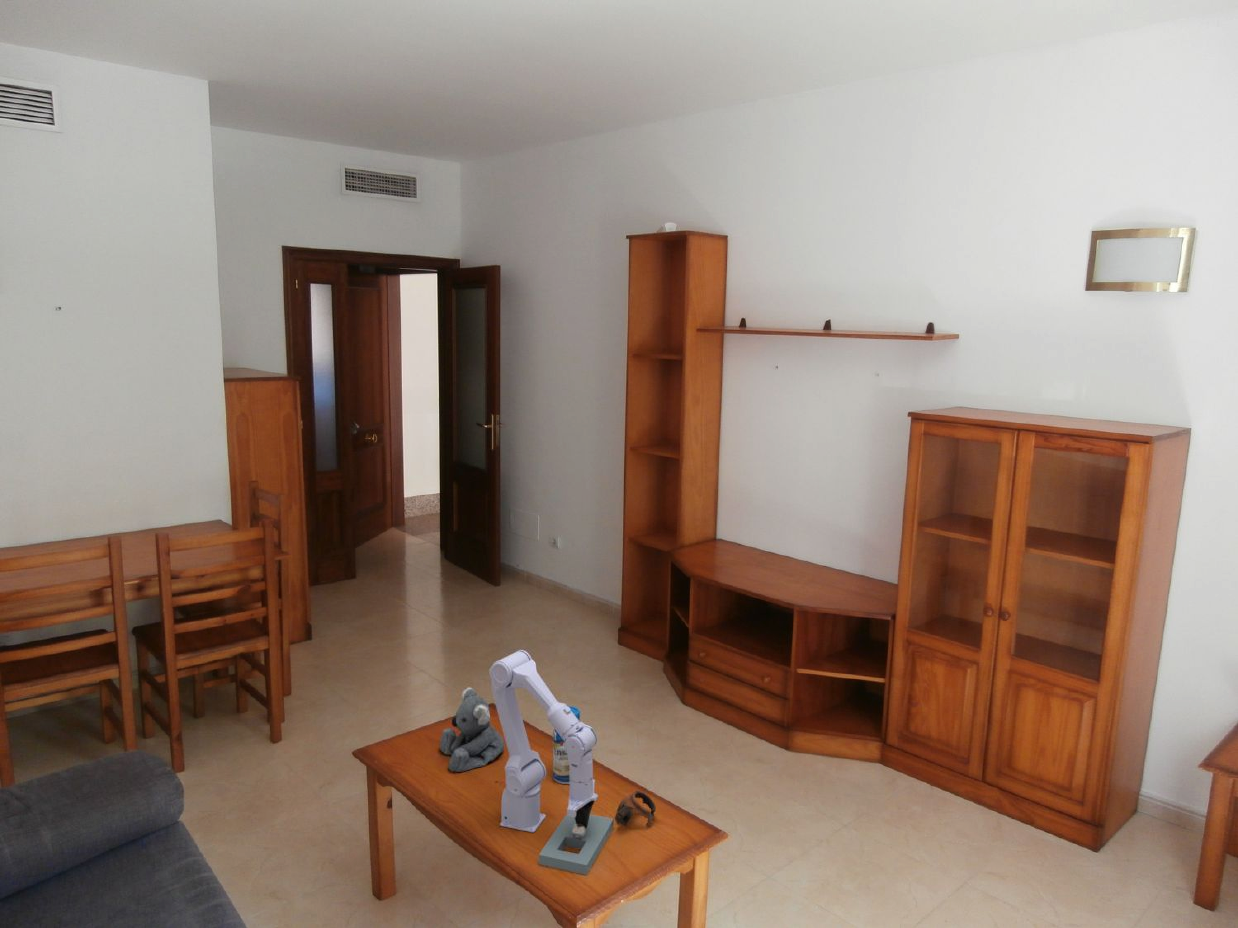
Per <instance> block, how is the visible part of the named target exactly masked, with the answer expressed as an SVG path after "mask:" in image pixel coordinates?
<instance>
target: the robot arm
mask: <svg viewBox="0 0 1238 928" xmlns="http://www.w3.org/2000/svg"><path fill="white" fill-rule="evenodd" d="M488 673H489V677H490V680H491V693H492V696H493V701H494V704H495V707H496V711H497V716H498V718H499V719H498V720H499V722H500V726H501V729H502V733H503V737H504V742H505V744H506V748H507V752H508V754H509V756H508V760H507V762H506V764H505V766H504V772H505V785H506V786H505V787H504V789H503V791H502V795H501V803H500V804H501V805H500V807H501V808H500V809H501V811H500V812H501V821H500V824H499V826H500V827H501V826H502V827H505V828H510V829H513V830H514V829H515V830H519V831H525V832H529V833H535V832H536V831H537V829H538V828H539V827H540V825H541V824H542V823H543V822H544V820H545V819H546V818H547V817H546V816H547V815H546V814H545V813H541V787H542V781H544V780H545V778H546V776H547V770H546V769H547V768H546V766H545V764H544V762H543V761H542V760H541V758H540V755H539V752H537V751H535V750H532V749H531V746H530V742H529V739H528V735H527V732H526V727H525V723H524V721H523V717H522V712H521V709H520V705H519V702H518V698H517V695H516V691H515V690H516V688H517V689H525V690H526V691H527V692H529V694H530V695H531V696H532V697H533V698H534V699H535V700H536V701H537V702H538V703H539V705H541V707H542V708H543V709H544V710H545V711H546V713H547V714H546V720H547V722H549V723H550V725H551V727H553V730H554V729H555V730H556V731H557V732H558V734H559V735H560V736H561V737H562V739H563V740H564V741H565V743H563V745H564V749H565V751H566V753H567V755H568V760H569V783H570V784H569V793H568V806H567V808H566V814H567V816H569V817H574V818H575V821H576V823H581V824H583V825H584V826H585V828H587V825H588V821H589V816H590V814H591V811H592V808H593V806H594V804H595V802H596V801H597V799H598V797H599V795H598V794H597V793H595V787H596V780H595V779H594V769H593V768H594V767H593V766H594V764H593V762H594V760H593V756H594V755H593V749H594V747H595V746H596V745H597V743H598V742H597V741H598V737H597V734H596V732H595V730H594V729H593V727H592V726H590V725H588V724H585V723H584V722H582V721H579V720H578V719H577V718H576V716H575V715H574V714H573V713H572V711H571V709H570V708H569V707H568V706H569V705H567V704H566V703H564V702H559V701H558V700H557V699H556V698H555V696H554V695H553V693H552V692H551V690H550V688H549V687H548V686H547V684H546V683H545V682H544V679H542V677H541V675H540V674H539V673H538V671H537V664H536V662H535V660H533V658H532V656H531V655H530V653H528V651H526V650H524V649H518V650H516V651H514V653H512V654H509V655H507V656H505V657H503V658H502V659H499V660H496V661H495V662H493V663H492V665H491V667H490V668H489V670H488Z"/></svg>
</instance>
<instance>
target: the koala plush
mask: <svg viewBox="0 0 1238 928" xmlns="http://www.w3.org/2000/svg"><path fill="white" fill-rule="evenodd" d="M461 699H462V702H461V704H460V705H459V706H458V709H457V711H456V712H455V715H454V716H453V717H452V719H451V724H452V725H451V726H453V727H454V728H456V729H457V730H458V731H460V733H459V734H458V735H457V733H456V731H455V729H453V728H445V729H443V730H442V733H441V737H440V741H439V748H440V751H441V752H442V753H444V755H448V756H451V757H450V760H449V761H448V769H449V770H450V772H452V773H453V772H455V773H460V772H466V771H470V770H473V769H475V768H482V767H485V766H487V765H488V763H489V762H492V761H494V760H495V759H496V758H497V757H498V756H499V755H500V754H502V753H503V752H504V751H505V739H503V737H502V735H501V734H500V733H499V731H498V730H496V729H495V728H494V726H492V725H491V723H490V722H491V712H490V706H489V704H488V702H487V701H486V700H485V699H484V698H483V697H481V696H479V695H478V693H476V690H474V688H472V687H469V686H468V687H467V688H466V689H464V690H463V691H462V694H461Z"/></svg>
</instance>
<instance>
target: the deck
mask: <svg viewBox="0 0 1238 928" xmlns="http://www.w3.org/2000/svg"><path fill="white" fill-rule="evenodd" d="M614 822H615V818H612V817H607V816H603V815H602V816H601V815H596V814H592V813H590V816H589V821H588V825H587V828H586V833H585V835H584V836H583V837H582V838H579V839H578V838H575V837H574V836H573V835H572V827H573V825H574V824H576V821H575V818H574V817H569V816H567V813H566V815H565V816H564V817H563V819H561V822H560V823H559V824H558V826H557V827H556V829H555V830H554V832H553V833H552V835H551V836H550V838H549V839H548V841H547V842H546V844H545V845H544V846H543V848H542V849H541V851H540V853H539V854H538V865H540V866H543V867H544V866H545V867H549V868H552V869H553V868H554V869H558V870H561V871H562V870H563V871H568V872H571V873H576V874H581V875H584V876H587V875H588V873H589V872H590V871H591V869H592V867H593V865H594V863H595V861H596V860H597V858H598V856H599V854H600V852H601V851H602V849H603V848H604V845H605V843H606V842H607V840H608V838H609V837H610V835H611V833H612V831H613V830H614V828H615V827H614V826H615V825H614ZM565 847H568V848H573V849H577V850H580V851H579V852H578V853H573V852H569V851H565V850H564V849H565Z"/></svg>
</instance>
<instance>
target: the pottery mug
mask: <svg viewBox="0 0 1238 928" xmlns="http://www.w3.org/2000/svg"><path fill="white" fill-rule="evenodd" d="M637 799H642V804H645V805H646V806H647V807H648V808H649V809H648V808H645V807H644V806H643V805H641V804H640V803H639V802H638V801H637ZM656 807H657V806H656V804H655V802H654V801H653V800H652V799H651V797H650V796H648V795H647V794H646V793H644V792H642V791H639V790H638V791H634V792H632V794H629V795H627V796H624V797H623V799H622V800H621V801H620V803H619V805H618V808H617V810H616V813H615V816H614V821H615V823H616V824H617V825H621V826H622V827H627V826H628V824H629V822H630V820H631V819H632V818H633V816H634V813H636V814H638V815H639V816H640V817H641V816H642V817H644V818H645V819H647V823H646V828H649V827H650V826H651V825H652V823H653V821H654V817H655V812H656V810H657V808H656ZM634 810H635V811H634Z"/></svg>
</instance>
